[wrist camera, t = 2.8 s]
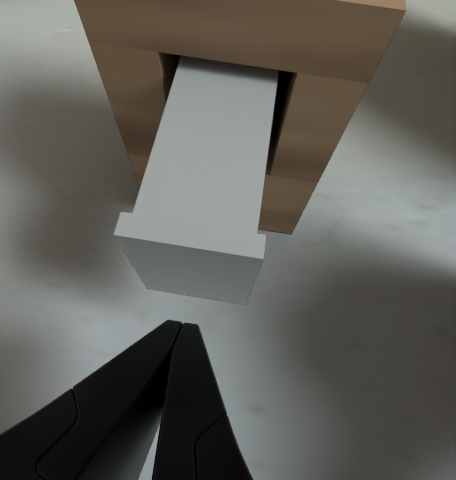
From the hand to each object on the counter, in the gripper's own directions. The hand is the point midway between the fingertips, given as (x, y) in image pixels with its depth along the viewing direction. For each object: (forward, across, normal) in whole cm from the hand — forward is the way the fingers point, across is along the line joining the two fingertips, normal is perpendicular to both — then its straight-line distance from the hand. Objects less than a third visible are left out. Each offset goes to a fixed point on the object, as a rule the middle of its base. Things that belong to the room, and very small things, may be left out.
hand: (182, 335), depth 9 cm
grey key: (+5, 0, -2) cm, 6 cm away
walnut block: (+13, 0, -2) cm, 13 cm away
